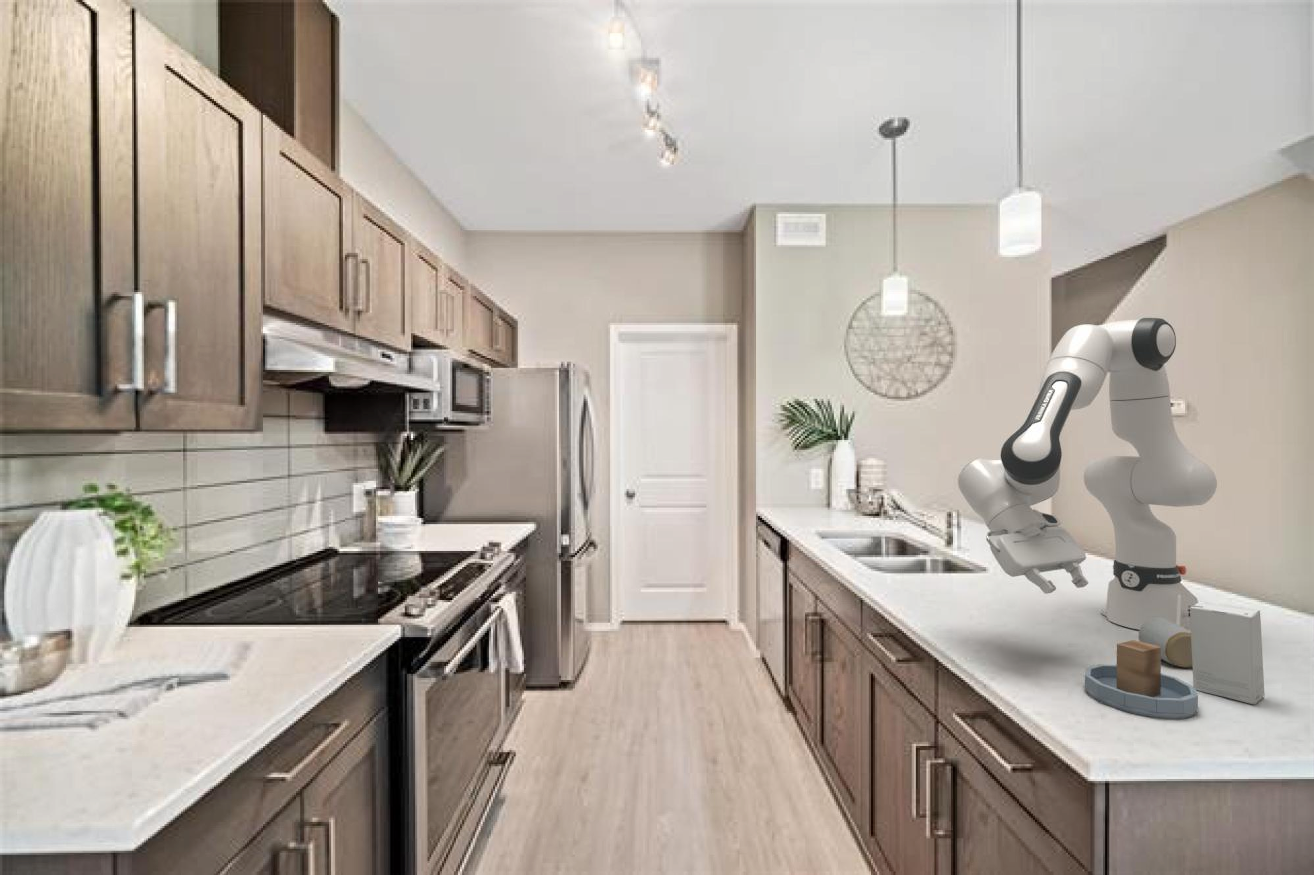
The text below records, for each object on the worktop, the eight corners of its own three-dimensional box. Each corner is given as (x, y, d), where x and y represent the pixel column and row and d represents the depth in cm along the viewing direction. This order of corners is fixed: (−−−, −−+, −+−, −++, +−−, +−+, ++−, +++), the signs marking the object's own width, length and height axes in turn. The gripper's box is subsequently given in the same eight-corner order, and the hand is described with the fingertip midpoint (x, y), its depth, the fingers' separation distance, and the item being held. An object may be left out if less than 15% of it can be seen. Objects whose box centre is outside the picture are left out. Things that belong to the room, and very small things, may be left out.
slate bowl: (1117, 675, 114) (1117, 659, 114) (1216, 708, 101) (1216, 689, 100) (1065, 689, 108) (1065, 672, 108) (1163, 726, 94) (1163, 707, 94)
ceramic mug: (1166, 669, 117) (1167, 628, 117) (1137, 653, 125) (1138, 615, 125) (1227, 672, 116) (1228, 631, 116) (1193, 656, 124) (1194, 618, 124)
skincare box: (1264, 697, 104) (1265, 610, 104) (1253, 706, 101) (1254, 616, 101) (1200, 681, 111) (1201, 599, 111) (1188, 689, 108) (1189, 604, 108)
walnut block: (1134, 685, 107) (1134, 639, 107) (1160, 694, 103) (1160, 647, 103) (1116, 690, 105) (1116, 643, 105) (1143, 700, 101) (1143, 651, 101)
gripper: (992, 522, 117) (1042, 585, 109) (1061, 515, 126) (1113, 573, 117) (971, 542, 121) (1018, 604, 113) (1040, 534, 130) (1088, 591, 121)
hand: (1067, 588), depth 115 cm, fingers open, 8 cm apart
